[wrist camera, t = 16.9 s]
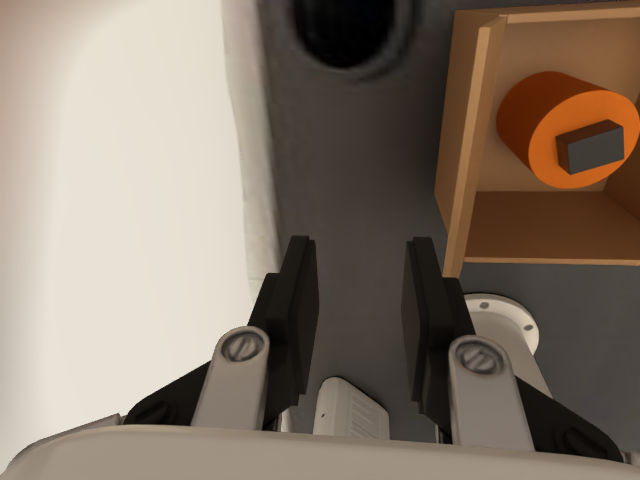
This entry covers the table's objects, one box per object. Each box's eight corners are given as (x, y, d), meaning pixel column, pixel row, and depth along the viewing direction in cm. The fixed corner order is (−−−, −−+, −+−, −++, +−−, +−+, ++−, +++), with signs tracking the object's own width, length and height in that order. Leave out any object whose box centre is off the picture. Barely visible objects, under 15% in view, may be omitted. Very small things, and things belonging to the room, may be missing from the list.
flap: (439, 342, 19) (433, 340, 19) (461, 267, 24) (456, 266, 24) (490, 27, 12) (478, 27, 12) (506, 16, 17) (498, 16, 17)
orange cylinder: (585, 136, 29) (657, 181, 22) (503, 163, 31) (544, 212, 24) (579, 56, 26) (659, 77, 19) (489, 90, 28) (531, 121, 21)
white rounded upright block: (313, 385, 49) (299, 489, 39) (336, 370, 47) (328, 475, 37) (369, 423, 52) (370, 528, 42) (393, 411, 50) (400, 518, 40)
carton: (603, 193, 32) (693, 266, 23) (433, 193, 33) (457, 262, 25) (676, -3, 25) (848, -5, 16) (454, 10, 26) (498, 14, 17)
